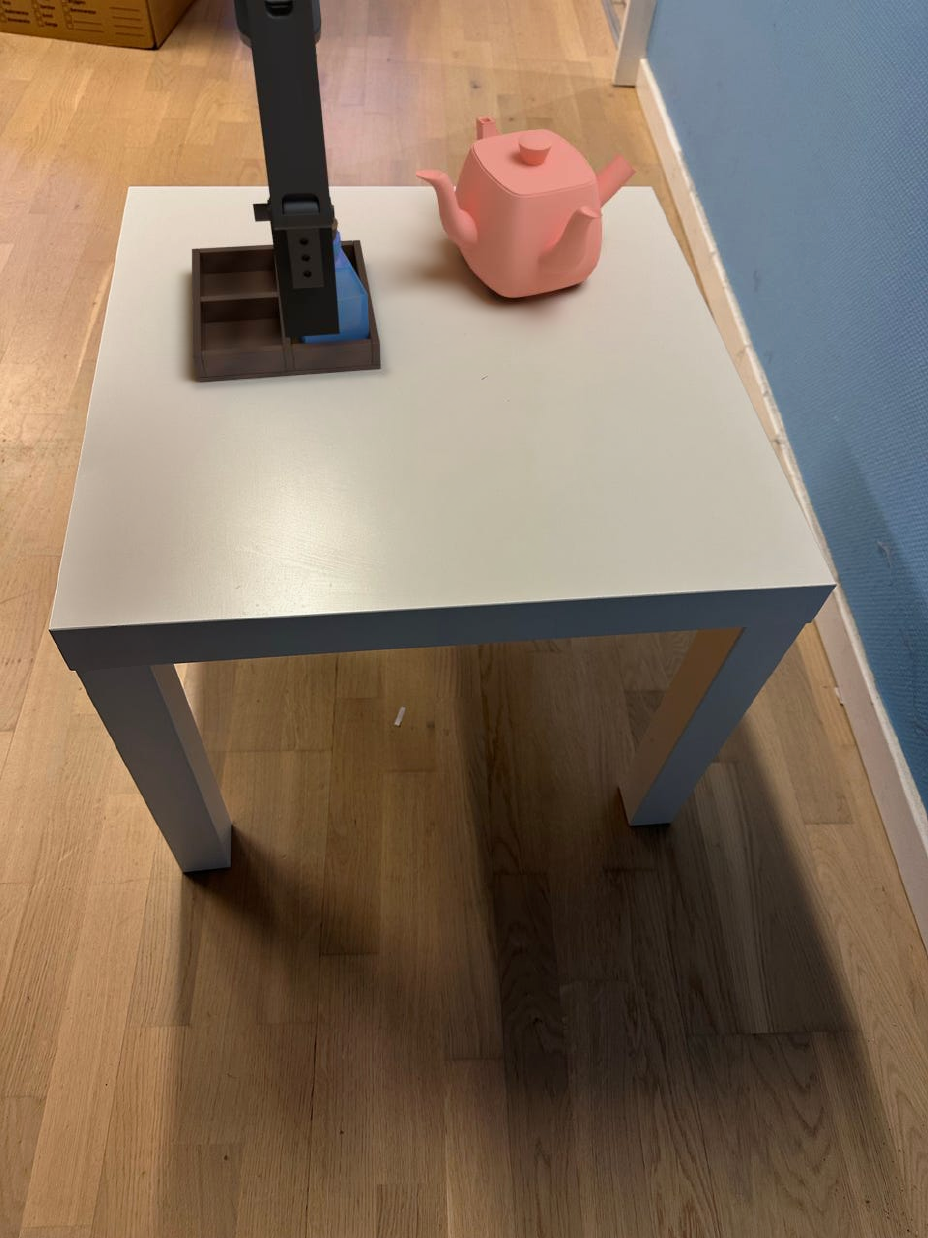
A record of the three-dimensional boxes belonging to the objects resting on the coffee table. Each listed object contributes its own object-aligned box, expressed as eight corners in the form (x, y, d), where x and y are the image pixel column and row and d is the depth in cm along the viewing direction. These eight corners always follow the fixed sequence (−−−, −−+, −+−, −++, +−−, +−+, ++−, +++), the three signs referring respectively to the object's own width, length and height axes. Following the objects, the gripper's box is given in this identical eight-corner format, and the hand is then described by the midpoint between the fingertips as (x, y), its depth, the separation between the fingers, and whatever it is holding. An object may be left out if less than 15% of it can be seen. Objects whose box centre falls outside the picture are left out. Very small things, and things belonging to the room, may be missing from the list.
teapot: (578, 336, 92) (602, 208, 81) (412, 291, 95) (413, 161, 84) (622, 244, 102) (649, 119, 91) (471, 206, 105) (478, 80, 94)
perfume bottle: (369, 349, 88) (364, 235, 78) (308, 362, 86) (295, 248, 76) (350, 312, 91) (342, 199, 81) (290, 324, 89) (276, 210, 80)
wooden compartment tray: (198, 382, 85) (192, 356, 82) (197, 274, 95) (191, 248, 92) (380, 368, 87) (380, 343, 85) (361, 264, 97) (360, 239, 95)
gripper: (397, -192, 25) (401, 400, 42) (321, -360, 39) (347, 135, 56) (118, -196, 24) (240, 413, 41) (143, -367, 38) (226, 140, 55)
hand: (302, 253), depth 49 cm, fingers open, 13 cm apart
